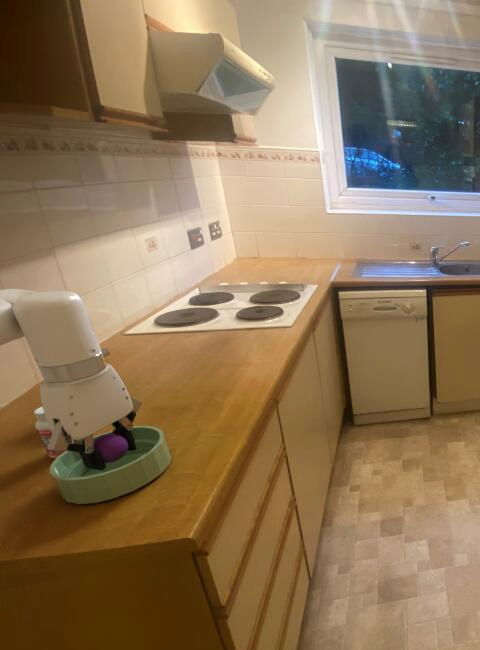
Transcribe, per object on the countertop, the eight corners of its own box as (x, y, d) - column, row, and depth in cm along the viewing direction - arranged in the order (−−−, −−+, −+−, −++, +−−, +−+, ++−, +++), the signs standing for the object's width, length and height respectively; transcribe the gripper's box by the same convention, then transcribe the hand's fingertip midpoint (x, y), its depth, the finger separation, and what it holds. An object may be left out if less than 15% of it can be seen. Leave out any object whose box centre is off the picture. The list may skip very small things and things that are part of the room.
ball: (87, 467, 76) (76, 443, 74) (116, 449, 80) (107, 426, 78) (111, 470, 75) (101, 446, 73) (139, 452, 79) (130, 429, 77)
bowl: (37, 499, 73) (23, 473, 71) (126, 445, 87) (117, 421, 85) (112, 512, 71) (100, 485, 68) (191, 454, 84) (184, 430, 82)
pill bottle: (46, 463, 82) (25, 419, 78) (51, 448, 86) (31, 406, 82) (85, 452, 85) (66, 409, 81) (88, 439, 89) (70, 397, 85)
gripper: (109, 345, 79) (141, 429, 86) (-10, 390, 63) (40, 488, 70) (143, 348, 77) (173, 433, 84) (31, 395, 62) (78, 495, 69)
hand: (112, 457), depth 77 cm, fingers closed on ball, 4 cm apart
